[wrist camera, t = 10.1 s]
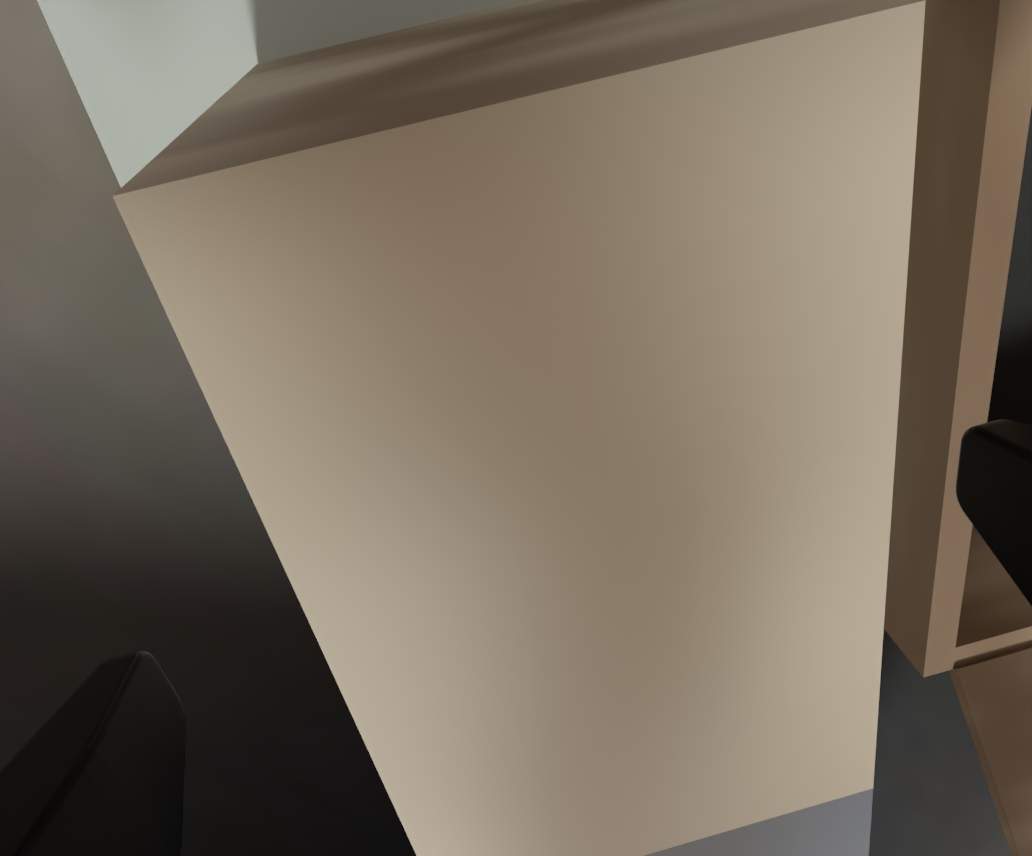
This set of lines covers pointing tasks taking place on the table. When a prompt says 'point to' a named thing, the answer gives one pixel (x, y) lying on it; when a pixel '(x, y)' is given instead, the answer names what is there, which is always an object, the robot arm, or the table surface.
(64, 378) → the table surface
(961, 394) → the carton
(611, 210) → the box
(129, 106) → the mat
